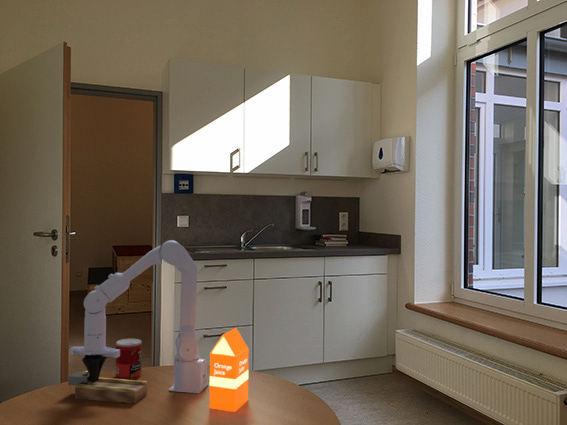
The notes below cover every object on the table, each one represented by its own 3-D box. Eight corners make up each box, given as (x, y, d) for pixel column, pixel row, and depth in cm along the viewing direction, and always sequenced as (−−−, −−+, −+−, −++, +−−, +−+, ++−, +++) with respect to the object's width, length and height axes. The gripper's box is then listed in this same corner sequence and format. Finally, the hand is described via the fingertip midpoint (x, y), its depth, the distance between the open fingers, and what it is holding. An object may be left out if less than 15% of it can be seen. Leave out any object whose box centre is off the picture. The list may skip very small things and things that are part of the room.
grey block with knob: (96, 380, 143) (96, 369, 143) (87, 386, 138) (87, 374, 138) (78, 380, 144) (77, 368, 144) (68, 385, 140) (68, 373, 140)
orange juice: (248, 400, 137) (249, 328, 137) (235, 412, 129) (236, 335, 129) (223, 396, 140) (223, 326, 140) (208, 408, 132) (209, 333, 132)
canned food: (134, 381, 152) (134, 345, 152) (110, 379, 154) (110, 343, 154) (145, 373, 160) (146, 339, 160) (123, 371, 161) (123, 337, 161)
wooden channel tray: (146, 394, 141) (146, 381, 141) (134, 403, 134) (134, 389, 134) (89, 389, 144) (89, 376, 144) (75, 398, 137) (75, 384, 137)
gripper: (63, 335, 138) (62, 383, 138) (111, 338, 135) (110, 387, 135) (78, 329, 145) (78, 375, 144) (124, 332, 142) (123, 379, 142)
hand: (94, 381), depth 140 cm, fingers closed
